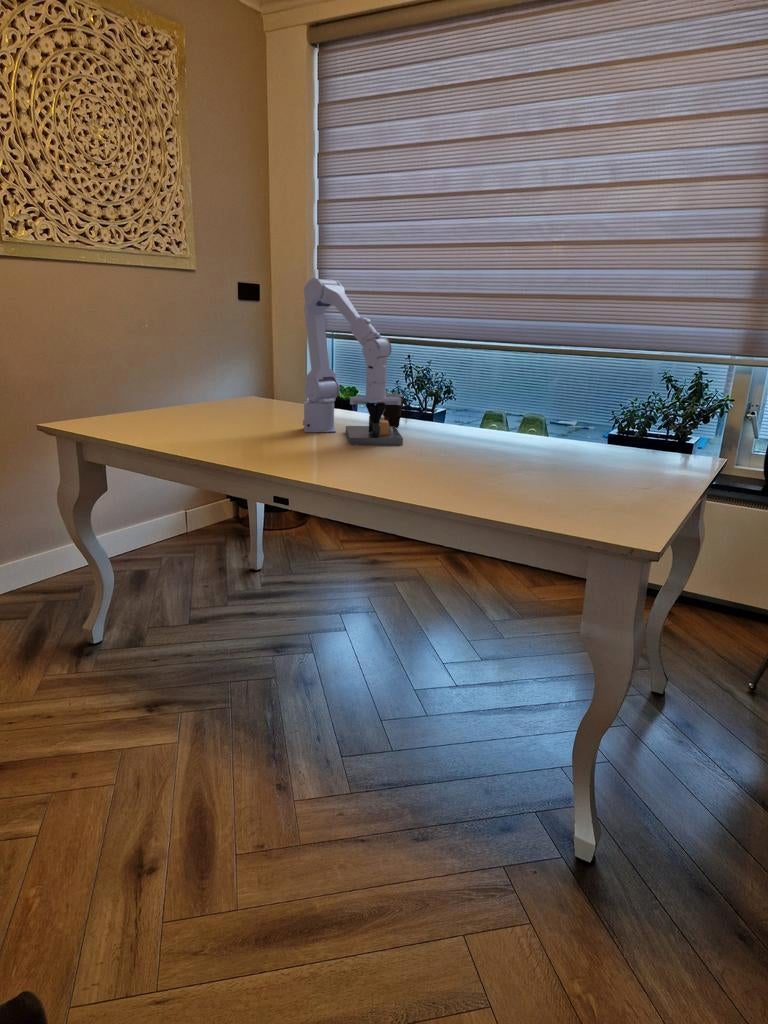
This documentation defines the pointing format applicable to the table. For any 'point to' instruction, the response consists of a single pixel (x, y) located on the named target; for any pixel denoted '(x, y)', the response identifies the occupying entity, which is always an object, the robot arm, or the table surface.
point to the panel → (372, 435)
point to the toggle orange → (384, 427)
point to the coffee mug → (394, 411)
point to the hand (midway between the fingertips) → (374, 429)
